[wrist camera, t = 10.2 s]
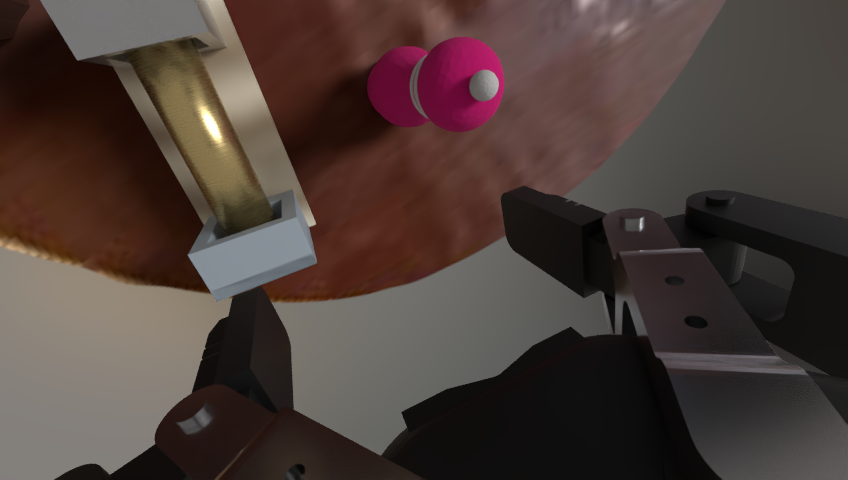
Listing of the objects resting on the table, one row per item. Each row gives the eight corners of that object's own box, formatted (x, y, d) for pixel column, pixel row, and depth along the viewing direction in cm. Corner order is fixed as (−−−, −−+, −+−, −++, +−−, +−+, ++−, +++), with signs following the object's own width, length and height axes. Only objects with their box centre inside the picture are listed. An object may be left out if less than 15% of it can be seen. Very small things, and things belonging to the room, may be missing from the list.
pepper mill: (369, 129, 39) (442, 158, 22) (355, 55, 36) (426, 20, 19) (430, 117, 41) (542, 136, 24) (422, 46, 38) (543, 8, 20)
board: (73, -11, 27) (66, -14, 26) (208, -35, 30) (206, -39, 29) (224, 253, 38) (222, 257, 37) (315, 221, 40) (315, 224, 40)
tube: (117, 23, 26) (88, 10, 22) (184, 9, 27) (168, -6, 23) (234, 237, 34) (228, 257, 30) (282, 221, 35) (282, 237, 31)
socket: (209, 216, 35) (187, 255, 27) (292, 189, 37) (296, 217, 29) (230, 254, 37) (216, 301, 29) (308, 226, 39) (317, 263, 31)
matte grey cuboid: (92, -2, 27) (14, -41, 19) (197, -21, 29) (165, -65, 21) (132, 69, 29) (77, 60, 21) (226, 47, 31) (208, 31, 23)
